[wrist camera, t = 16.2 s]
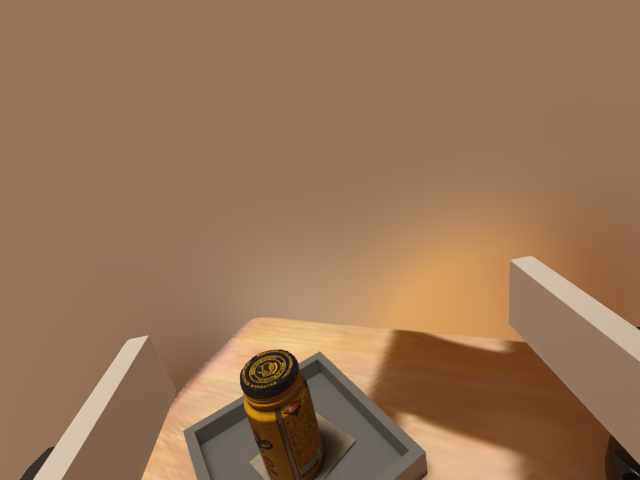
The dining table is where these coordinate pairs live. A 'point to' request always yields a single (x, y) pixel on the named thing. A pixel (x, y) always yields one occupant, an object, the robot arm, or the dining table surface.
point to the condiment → (288, 421)
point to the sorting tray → (332, 404)
